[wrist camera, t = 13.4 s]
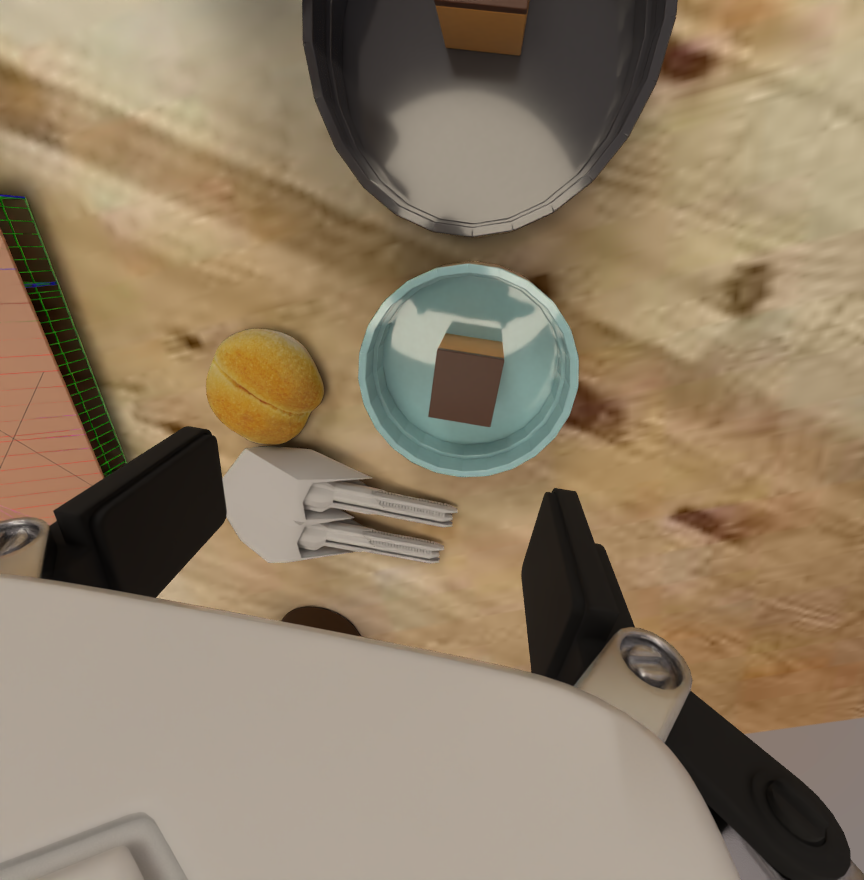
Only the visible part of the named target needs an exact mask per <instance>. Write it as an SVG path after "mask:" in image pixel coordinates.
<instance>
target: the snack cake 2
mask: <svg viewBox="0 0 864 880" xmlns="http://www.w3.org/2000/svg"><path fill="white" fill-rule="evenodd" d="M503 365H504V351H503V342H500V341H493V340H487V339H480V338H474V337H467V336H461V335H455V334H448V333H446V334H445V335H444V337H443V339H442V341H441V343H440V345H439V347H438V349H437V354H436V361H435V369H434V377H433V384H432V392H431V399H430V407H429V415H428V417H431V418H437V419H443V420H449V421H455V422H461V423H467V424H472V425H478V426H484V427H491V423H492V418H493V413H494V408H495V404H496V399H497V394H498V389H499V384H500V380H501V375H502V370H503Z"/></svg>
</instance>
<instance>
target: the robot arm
mask: <svg viewBox="0 0 864 880" xmlns="http://www.w3.org/2000/svg"><path fill="white" fill-rule="evenodd" d="M53 512H54V515H55V517H56V520H57V521H56V522H54V523H53V524H51V525H50V526H49V524H48V523H47V522H45V521H44V520H42V519H39V518H35V517H21V518H13V519H7V520H3V521H0V880H864V874H863V873H862V872H861V870H860V869H859V868H858V867H857V866H856V865H855V864H854V863H853V862H852V860H851V859H850V848H849V846H848V843H847V840H846V838H845V835H844V832H843V831H842V829H841V827H840V826H839V824H838V822H837V821H836V819H835V817H834V815H833V814H832V813H831V811H830V810H829V809H828V808H827V807H826V805H825V804H824V803H823V802H822V801H821V800H820V798H819V797H818V796H817V795H816V794H815V793H814V792H813V791H812V790H811V789H809V788H808V786H806V785H805V784H804V783H803V782H802V781H801V780H800V779H798V778H797V777H796V776H795V775H793V774H792V773H791V772H790V771H789V770H787V769H786V768H785V767H784V766H782V765H781V764H780V763H779V762H777V761H776V760H775V759H774V758H773V757H771V756H770V755H769V754H768V753H766V752H765V751H764V750H763V749H762V748H760V747H759V746H758V745H757V744H755V743H754V742H753V741H752V740H750V739H749V738H748V737H747V736H746V735H744V734H743V733H742V732H741V731H739V730H738V729H737V728H736V727H734V726H733V725H732V724H731V723H730V722H728V721H727V720H726V719H725V718H723V717H722V716H721V715H720V714H718V713H717V712H716V711H715V710H714V709H712V708H711V707H710V706H709V705H707V704H706V703H705V702H704V701H702V700H701V699H700V698H699V697H698V696H696V695H695V694H694V693H693V692H691V691H690V690H691V685H692V677H691V672H690V669H689V667H688V665H687V664H686V662H685V660H684V658H683V657H682V656H681V655H680V654H679V652H678V651H677V650H676V649H675V648H674V647H673V646H672V645H670V644H669V643H668V642H667V641H666V640H664V639H663V638H661V637H659V636H658V635H656V634H654V633H652V632H650V631H647V630H644V629H641V628H635V626H634V624H633V621H632V618H631V616H630V613H629V611H628V608H627V605H626V603H625V600H624V597H623V595H622V592H621V590H620V587H619V584H618V582H617V579H616V576H615V574H614V571H613V569H612V566H611V563H610V561H609V558H608V556H607V553H606V550H605V549H604V547H603V546H602V545H601V544H596V543H594V540H593V537H592V534H591V531H590V529H589V526H588V523H587V520H586V517H585V515H584V512H583V509H582V506H581V503H580V501H579V498H578V495H577V493H576V492H575V491H570V490H564V489H558V488H554V489H553V491H552V493H550V492H546V493H545V494H544V497H543V500H542V504H541V507H540V510H539V513H538V517H537V520H536V523H535V526H534V530H533V533H532V536H531V539H530V543H529V546H528V549H527V552H526V556H525V559H524V562H523V566H522V586H523V596H524V605H525V615H526V624H527V633H528V643H529V652H530V662H531V671H532V673H530V672H526V671H522V670H519V669H515V668H511V667H507V666H502V665H498V664H493V663H488V662H484V661H479V660H474V659H469V658H465V657H460V656H455V655H451V654H446V653H441V652H436V651H431V650H426V649H421V648H416V647H411V646H406V645H401V644H396V643H390V642H385V641H380V640H375V639H370V638H365V637H360V636H355V635H350V634H345V633H339V632H334V631H329V630H324V629H319V628H313V627H308V626H303V625H298V624H292V623H287V622H282V621H277V620H271V619H266V618H261V617H256V616H250V615H245V614H240V613H234V612H229V611H224V610H219V609H213V608H208V607H202V606H197V605H192V604H186V603H181V602H175V601H170V600H164V599H159V598H156V597H157V596H158V595H159V594H160V593H161V591H162V590H163V589H164V588H165V587H166V586H167V585H168V584H169V583H170V582H171V580H172V579H173V578H174V577H175V576H176V575H177V574H178V573H179V572H180V571H181V569H182V568H183V567H184V566H185V565H186V564H187V563H188V562H189V561H190V559H191V558H192V557H193V556H194V555H195V554H196V553H197V552H198V551H199V550H200V548H201V547H202V546H203V545H204V544H205V543H206V542H207V541H208V540H209V539H210V537H211V536H212V535H213V534H214V533H215V532H216V531H217V530H218V529H219V528H220V526H221V525H222V524H223V523H224V521H225V519H226V515H227V509H226V501H225V494H224V487H223V480H222V473H221V466H220V459H219V452H218V444H217V439H216V437H215V436H212V434H211V432H210V431H209V430H207V429H201V428H195V427H189V426H186V427H184V428H182V429H180V430H179V431H177V432H176V433H174V434H173V435H171V436H169V437H168V438H166V439H165V440H163V441H162V442H160V443H158V444H157V445H155V446H154V447H152V448H151V449H149V450H147V451H146V452H144V453H143V454H141V455H140V456H138V457H137V458H135V459H133V460H132V461H130V462H129V463H127V464H126V465H124V466H122V467H121V468H119V469H118V470H116V471H115V472H113V473H111V474H110V475H108V476H107V477H105V478H104V479H102V480H100V481H99V482H97V483H96V484H94V485H93V486H91V487H89V488H88V489H86V490H85V491H83V492H82V493H80V494H78V495H77V496H75V497H74V498H72V499H71V500H69V501H67V502H66V503H64V504H63V505H61V506H60V507H58V508H56V509H55V510H53Z"/></svg>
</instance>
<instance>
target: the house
mask: <svg viewBox="0 0 864 880" xmlns="http://www.w3.org/2000/svg"><path fill="white" fill-rule="evenodd" d="M1 199H24V200H25V203H26V205H27V208H22V209H28V210H29V213H30V216H31V218H32V221H24V222H33V224H34V226H35V229H36V231H37V234H34V235H38V237H39V239H40V242H41V244H42V246H19V243H18V241H17V239H16V236H15V234H21V233H15V232H14V229H13V227H12V224H11V222H10V221H20V220H9V219H8V216H7V214H6V211H5V209H4V207H6V206H4V205H3V202H2V200H1ZM0 202H1V205H2V206H0V207H2V209H3V211H4V214H5V216H6V219H7V220H1V221H8V222H9V224H10V227H11V229H12V232H13V233H2V231H1V228H0V521H3V520H7V519H13V518H21V517H35V518H39V519H42V520H44V521H45V522H47V523H48V524H49V526H50V525H51V524H53V523H54V522H56V521H57V520H56V517H55V515H54V512H53V510H55V509H56V508H58V507H60V506H61V505H63V504H64V503H66V502H67V501H69V500H71V499H72V498H74V497H75V496H77V495H78V494H80V493H82V492H83V491H85V490H86V489H88V488H89V487H91V486H93V485H94V484H96V483H97V482H99V481H100V480H102V479H104V475H107V476H108V475H110V474H111V470H112V469H114V468H116V467H117V466H119V465H121V464H122V463H124V462H125V463H126V464H127V462H126V459H125V456H124V454H123V451H122V449H121V446H120V443H119V441H118V438H117V435H116V433H115V430H114V428H113V425H112V422H111V420H110V417H109V414H108V412H107V409H106V407H105V404H104V401H103V399H102V396H101V393H100V391H99V388H98V386H97V383H96V380H95V378H94V375H93V373H92V370H91V367H90V365H89V362H88V359H87V357H86V354H85V352H84V349H83V346H82V344H81V341H80V338H79V336H78V333H77V331H76V328H75V325H74V323H73V320H72V318H71V315H70V312H69V310H68V307H67V304H66V302H65V299H64V297H63V294H62V291H61V289H60V286H59V283H58V281H57V278H56V276H55V273H54V270H53V268H52V265H51V262H50V260H49V257H48V255H47V252H46V249H45V247H44V244H43V242H42V239H41V236H40V234H39V231H38V228H37V226H36V223H35V221H34V218H33V215H32V213H31V210H30V207H29V205H28V202H27V200H26V197H22V196H12V195H2V194H0ZM8 208H20V207H8ZM3 234H13V236H14V238H15V241H16V243H17V246H10V247H19V249H20V251H21V254H22V256H23V259H13V257H12V255H11V252H10V250H9V248H8V245H7V243H6V240H5V238H4V236H3ZM21 247H43V250H44V252H45V255H46V257H47V258H41V259H47V260H48V263H49V265H50V268H51V270H44V271H52V273H53V276H54V278H55V281H56V282H35V281H34V279H33V276H32V274H31V272H42V271H29V268H28V266H27V263H26V261H25V260H35V259H25V257H24V254H23V252H22V249H21ZM14 260H24V263H25V265H26V268H27V270H28V272H29V273H30V276H31V278H32V281H33V282H23V281H22V279H21V276H20V274H19V273H26V272H18V269H17V267H16V264H15V262H14ZM49 285H57V286H58V289H59V290H54V291H60V294H61V296H56V297H62V299H63V302H64V304H65V307H60V308H66V310H67V312H68V315H69V318H70V320H71V323H72V325H73V328H70V329H74V330H75V333H76V336H77V338H76V339H78V341H79V343H80V346H81V348H80V349H82V351H83V354H84V356H85V358H83V359H86V362H87V364H88V367H89V368H85V369H82V370H86V369H90V372H91V375H92V377H90V378H87V379H84V380H81V381H79V382H82V381H85V380H88V379H91V378H93V380H94V382H95V385H96V386H95V387H96V388H97V390H98V393H99V395H98V396H96V397H99V396H100V398H101V401H102V403H103V404H101V405H99V406H102V405H103V406H104V409H105V411H106V413H104V414H107V416H108V419H109V421H108V422H106V423H109V422H110V424H111V427H112V430H113V432H114V435H115V438H113V439H111V440H110V441H112V440H114V439H116V440H117V442H118V446H117V447H119V448H120V450H121V454H119V455H118V456H120V455H123V458H124V462H122V463H120V464H118V465H117V466H115V467H113V468H112V469H110V466H109V464H108V462H109V461H111V460H113V459H115V458H116V457H118V456H116V457H114V458H112V459H111V460H109V461H107V460H106V458H105V455H104V454H106V453H108V452H110V451H112V450H113V449H115V448H117V447H115V448H113V449H111V450H109V451H107V452H106V453H104V451H103V449H102V447H101V446H102V445H104V444H106V443H108V442H110V441H108V442H106V443H104V444H102V445H100V443H99V441H98V437H100V436H102V435H104V434H106V433H108V432H110V431H112V430H110V431H108V432H106V433H104V434H102V435H100V436H98V437H97V434H96V432H95V429H96V428H98V427H100V426H102V425H104V424H106V423H104V424H102V425H100V426H97V427H95V428H93V426H92V423H91V420H93V419H95V418H97V417H100V416H102V415H104V414H101V415H99V416H97V417H95V418H92V419H90V417H89V414H88V412H87V411H90V410H92V409H94V408H97V407H99V406H96V407H94V408H91V409H89V410H87V411H86V409H85V406H84V404H83V402H86V401H88V400H91V399H93V398H96V397H93V398H90V399H88V400H85V401H83V400H82V397H81V395H80V393H81V392H84V391H87V390H89V389H92V388H95V387H92V388H89V389H86V390H84V391H81V392H79V391H78V389H77V386H76V383H79V382H75V380H74V377H73V375H72V374H73V373H76V372H79V371H82V370H79V371H76V372H73V373H71V372H70V369H69V367H68V364H69V363H73V362H76V361H80V360H83V359H79V360H76V361H72V362H69V363H67V360H66V358H65V355H64V353H68V352H72V351H76V350H80V349H76V350H72V351H68V352H64V353H63V352H62V349H61V347H60V344H59V343H63V342H67V341H71V340H76V339H71V340H67V341H63V342H59V340H58V338H57V335H56V332H61V331H66V330H70V329H66V330H61V331H56V332H54V330H53V327H52V325H51V322H52V321H58V320H63V319H69V318H63V319H58V320H52V321H50V318H49V316H48V313H47V310H53V309H47V310H45V308H44V305H43V303H42V300H41V299H47V298H41V296H40V294H39V293H44V292H38V290H37V288H36V287H39V286H49ZM29 287H35V290H36V293H38V295H39V298H40V299H32V300H40V302H41V305H42V307H43V309H44V310H41V311H45V313H46V315H47V318H48V320H49V321H47V322H49V324H50V327H51V329H52V331H53V332H51V333H54V335H55V337H56V340H57V342H58V343H54V344H58V346H59V349H60V351H61V353H60V354H56V355H53V353H52V351H51V348H50V345H54V344H50V345H49V343H48V341H47V339H46V336H45V335H46V334H51V333H46V334H44V331H43V329H42V327H41V323H47V322H41V323H40V322H39V320H38V317H37V315H36V312H40V311H35V310H34V308H33V305H32V303H31V300H30V298H29V296H28V294H35V293H27V291H26V288H29ZM45 292H52V291H45ZM48 298H55V297H48ZM60 308H54V309H60ZM61 354H63V357H64V359H65V362H66V363H65V364H62V365H66V366H67V368H68V371H69V374H66V375H63V376H67V375H70V374H71V377H72V379H73V381H74V383H73V384H74V385H75V388H76V390H77V393H75V394H73V395H76V394H79V396H80V399H81V401H82V402H80V403H78V404H81V403H82V405H83V408H84V410H85V411H84V412H82V413H85V412H86V413H87V416H88V418H89V420H88V421H89V422H90V425H91V427H92V429H91V430H89V431H92V430H93V431H94V433H95V436H96V438H94V439H97V442H98V444H99V446H98V447H96V448H94V449H92V446H91V444H90V441H92V440H94V439H92V440H90V441H89V439H88V437H87V434H86V433H87V432H89V431H87V432H85V430H84V427H83V425H82V424H84V423H86V422H88V421H86V422H83V423H81V420H80V418H79V415H80V414H82V413H79V414H78V413H77V411H76V408H75V406H76V405H78V404H75V405H74V403H73V401H72V399H71V396H73V395H70V394H69V391H68V389H67V386H70V385H73V384H70V385H67V386H66V384H65V382H64V379H63V376H62V375H61V372H60V370H59V366H62V365H57V363H56V360H55V358H54V356H57V355H61ZM99 447H100V448H101V450H102V453H103V454H102V455H103V457H104V459H105V461H106V462H105V463H104V464H106V463H107V465H108V467H109V470H108V471H107V472H109V471H110V474H106V473H107V472H105V473H102V470H101V468H100V467H101V466H102V465H104V464H102V465H100V466H99V463H98V461H97V458H99V457H101V456H102V455H100V456H98V457H96V456H95V454H94V451H93V450H95V449H97V448H99ZM107 476H106V477H107Z"/></svg>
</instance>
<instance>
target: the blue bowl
mask: <svg viewBox="0 0 864 880" xmlns="http://www.w3.org/2000/svg"><path fill="white" fill-rule="evenodd" d="M446 333H448V334H455V335H461V336H467V337H474V338H480V339H487V340H493V341H500V342H503V351H504V365H503V370H502V375H501V380H500V384H499V389H498V394H497V399H496V404H495V408H494V413H493V418H492V423H491V427H484V426H478V425H472V424H467V423H461V422H455V421H449V420H443V419H437V418H431V417H428V415H429V407H430V399H431V392H432V384H433V377H434V369H435V361H436V354H437V349H438V347H439V345H440V343H441V341H442V339H443V337H444V335H445V334H446ZM578 376H579V358H578V353H577V350H576V346H575V342H574V339H573V335H572V332H571V329H570V327H569V325H568V324H567V322H566V320H565V319H564V317H563V316H562V314H561V313H560V311H559V309H558V308H557V306H556V305H555V303H554V302H553V301H552V300H551V299H550V298H549V297H548V296H547V295H546V294H545V293H544V292H543V291H541V290H540V289H539V288H538V287H537V286H536V285H535V284H533V283H532V282H531V281H530V280H529V279H528V278H527V277H525V276H523V275H521V274H519V273H517V272H514V271H512V270H510V269H508V268H506V267H504V266H501V265H498V264H491V263H484V262H477V261H465V262H458V263H451V264H444V265H441V266H439V267H437V268H435V269H432V270H430V271H428V272H426V273H424V274H421V275H419V276H417V277H415V278H413V279H410V280H408V281H407V282H406V283H404V284H403V285H402V286H401V287H400V288H398V289H397V290H396V291H395V292H394V293H393V294H391V295H390V296H389V297H388V298H387V299H386V300H385V301H384V302H383V303H382V305H381V306H380V308H379V309H378V311H377V312H376V314H375V315H374V317H373V318H372V320H371V321H370V323H369V325H368V327H367V330H366V333H365V336H364V339H363V342H362V345H361V349H360V353H359V373H358V379H359V385H360V389H361V394H362V399H363V403H364V406H365V408H366V410H367V412H368V414H369V416H370V418H371V420H372V422H373V424H374V426H375V428H376V429H377V431H378V432H379V433H380V434H381V435H382V436H383V437H384V439H385V440H386V441H387V442H388V443H389V444H390V446H391V447H393V449H395V450H396V451H397V452H399V453H400V454H401V455H403V456H404V457H406V458H407V459H408V460H410V461H411V462H412V463H415V464H417V465H419V466H422V467H424V468H426V469H429V470H431V471H433V472H437V473H440V474H446V475H452V476H457V477H478V476H490V475H493V474H497V473H500V472H504V471H507V470H511V469H512V468H515V467H517V466H519V465H520V464H522V463H524V462H526V461H528V460H529V459H531V458H533V457H535V456H536V455H537V454H538V453H539V452H540V451H541V450H543V449H544V448H545V447H546V446H547V445H548V444H549V443H550V442H551V441H552V440H553V439H554V438H555V437H556V436H557V434H558V432H559V431H560V429H561V428H562V426H563V424H564V423H565V421H566V420H567V418H568V417H569V415H570V413H571V409H572V406H573V403H574V399H575V396H576V393H577V390H578Z"/></svg>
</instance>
